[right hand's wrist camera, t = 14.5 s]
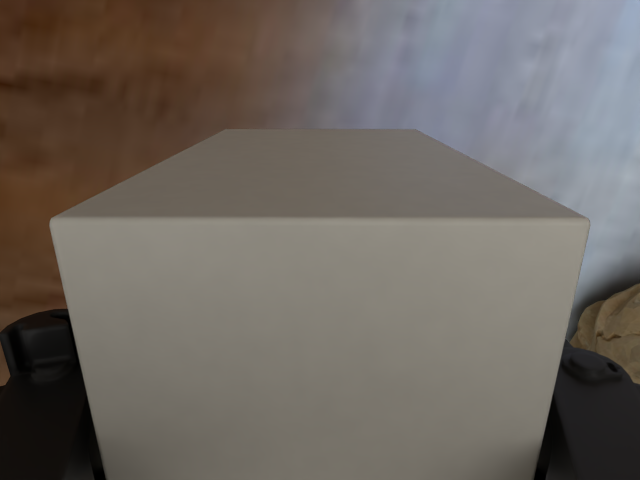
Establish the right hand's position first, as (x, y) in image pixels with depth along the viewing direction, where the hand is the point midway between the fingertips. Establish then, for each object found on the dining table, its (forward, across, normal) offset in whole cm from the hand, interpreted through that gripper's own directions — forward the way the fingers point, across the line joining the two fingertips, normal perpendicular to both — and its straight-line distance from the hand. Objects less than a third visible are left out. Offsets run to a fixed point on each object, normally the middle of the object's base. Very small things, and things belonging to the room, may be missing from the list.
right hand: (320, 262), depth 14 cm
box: (+1, 0, -10) cm, 10 cm away
